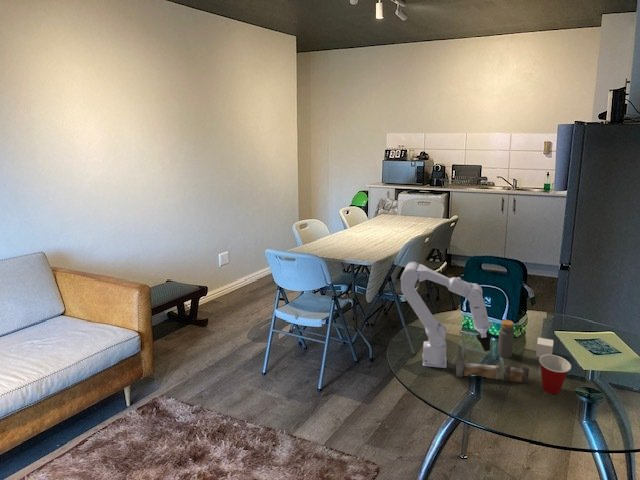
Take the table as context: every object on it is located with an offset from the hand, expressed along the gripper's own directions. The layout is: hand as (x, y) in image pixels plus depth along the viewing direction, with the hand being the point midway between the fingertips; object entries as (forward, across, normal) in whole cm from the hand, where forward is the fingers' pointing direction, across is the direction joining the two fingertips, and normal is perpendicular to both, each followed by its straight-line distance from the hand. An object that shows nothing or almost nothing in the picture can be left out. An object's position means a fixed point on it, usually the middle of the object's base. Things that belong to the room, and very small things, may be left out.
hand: (486, 345), depth 196 cm
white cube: (+17, +17, -21) cm, 32 cm away
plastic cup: (+17, -10, -19) cm, 27 cm away
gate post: (+8, -6, +12) cm, 16 cm away
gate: (+10, -6, +4) cm, 12 cm away
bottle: (+12, +14, -6) cm, 20 cm away
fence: (+13, -6, -7) cm, 16 cm away
